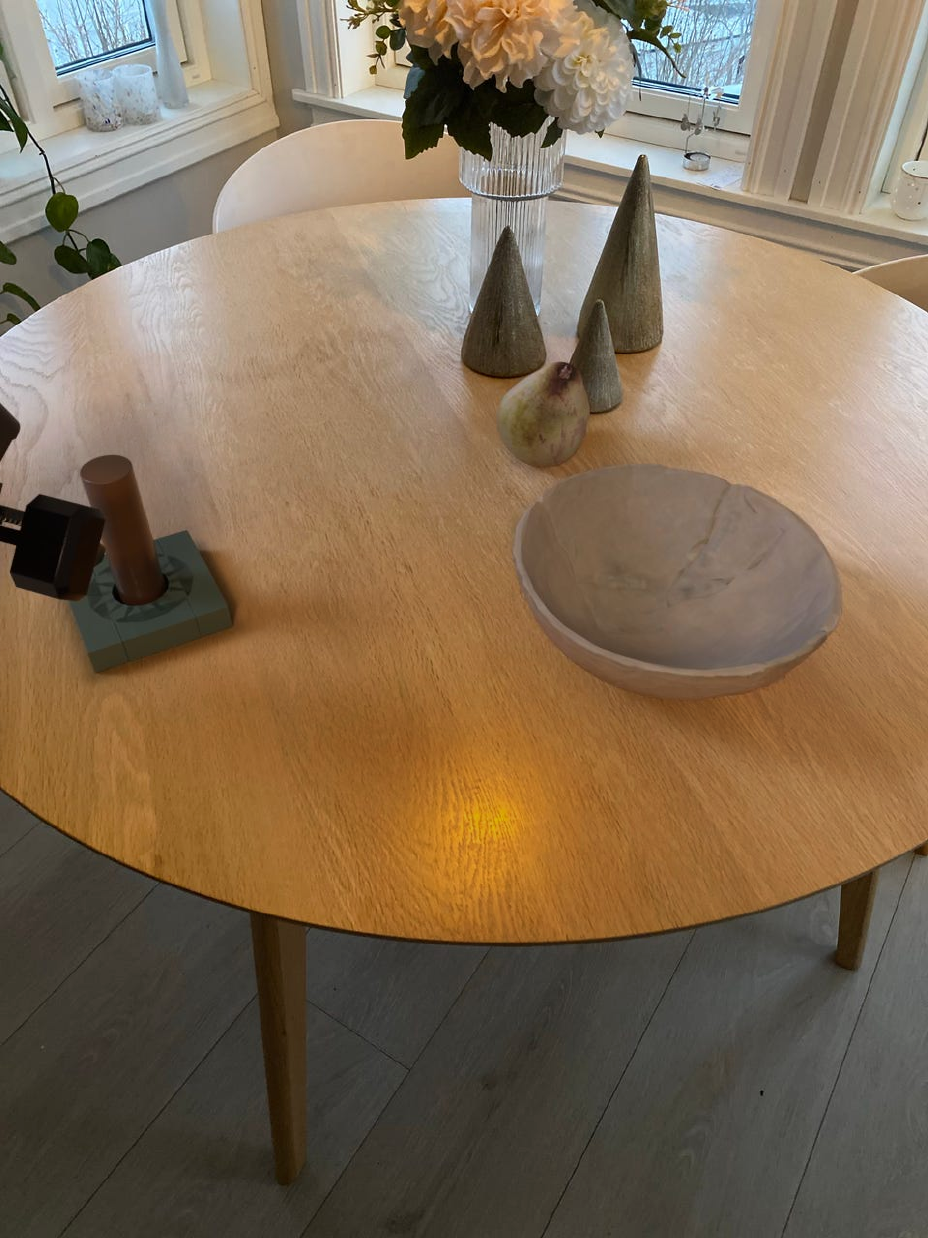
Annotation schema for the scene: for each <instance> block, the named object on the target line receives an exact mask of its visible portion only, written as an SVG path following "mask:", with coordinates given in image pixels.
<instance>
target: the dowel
mask: <svg viewBox="0 0 928 1238" xmlns="http://www.w3.org/2000/svg"><path fill="white" fill-rule="evenodd" d="M79 475H80V479H81V482H82V485H83V488H84V492H85V494H86V498H87V500H88V504H89V507H93V508H96V509H100V510H101V511H102V513H103V515H104V517H105V519H106V521H105V525H104V529H103V533H102V537H101V541H100V542H101V544H102V545H103V546H105V547H106V551H105V554H106V556H107V559H108V562H109V565H110V568H111V571H112V574H113V577H114V581H115V584H116V587H117V590H118V593H119V596H120V599H121V602H122V604H124V605H129V606H140V605H146V604H149V603H152V602H154V601H156V600H157V599H159V598H160V597H162V596H163V595H164V594H165V592H166V591H167V588H166V585H165V581H164V577H163V574H162V570H161V566H160V563H159V559H158V556H157V552H156V548H155V545H154V541H153V540H154V538H153V534H152V531H151V528H150V523H149V520H148V516H147V513H146V510H145V505H144V502H143V499H142V495H141V491H140V487H139V484H138V480H137V476H136V473H135V470H134V466H133V462H132V461H131V460H130V459H129V458H128V457H126V456H123V455H120V454H104V455H100V456H97V457H95V458H94V457H93V458H91V459H90V460H88V461H87V462H86V463H84V464H83V465H82V466H81V468H80V470H79Z"/></svg>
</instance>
